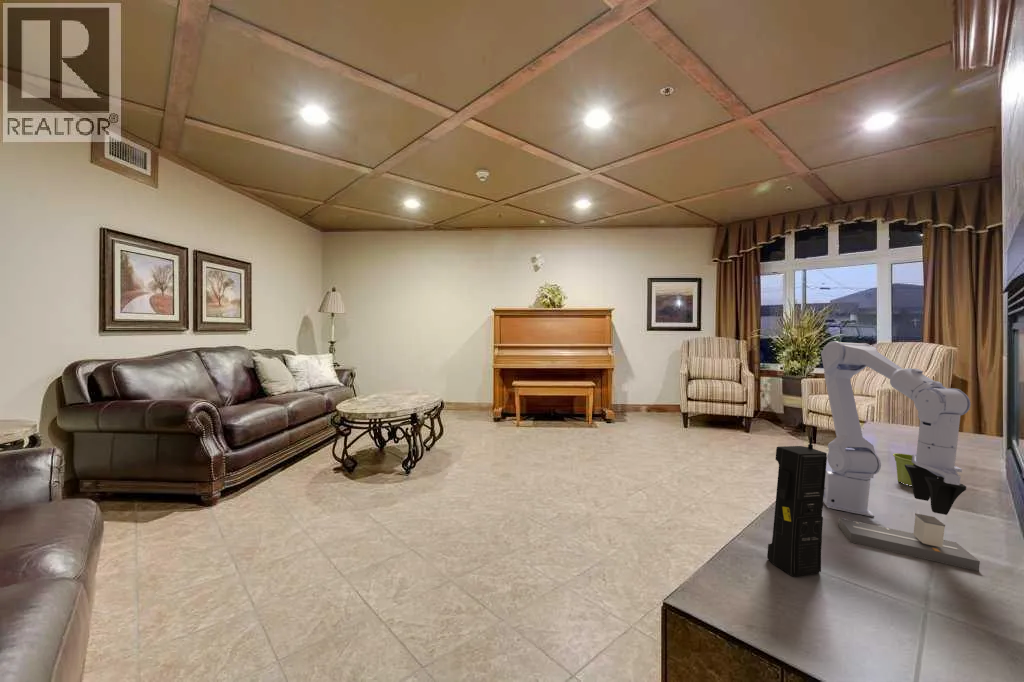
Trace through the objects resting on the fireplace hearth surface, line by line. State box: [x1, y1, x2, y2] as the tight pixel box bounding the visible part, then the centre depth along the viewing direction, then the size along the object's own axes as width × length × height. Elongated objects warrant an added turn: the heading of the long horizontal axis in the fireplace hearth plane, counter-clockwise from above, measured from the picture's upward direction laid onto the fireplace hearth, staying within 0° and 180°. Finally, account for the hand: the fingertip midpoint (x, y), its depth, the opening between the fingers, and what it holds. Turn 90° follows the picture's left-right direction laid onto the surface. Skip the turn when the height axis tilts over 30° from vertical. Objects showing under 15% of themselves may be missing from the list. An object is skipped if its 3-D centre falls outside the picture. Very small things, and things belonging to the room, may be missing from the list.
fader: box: [913, 513, 946, 547], centre depth 84 cm, size 3×4×5 cm
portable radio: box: [766, 435, 828, 577], centre depth 75 cm, size 8×6×25 cm
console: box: [838, 517, 981, 572], centre depth 86 cm, size 20×8×2 cm, turn 65°
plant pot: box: [892, 453, 915, 485], centre depth 125 cm, size 9×9×9 cm
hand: (930, 506), depth 85 cm, fingers open, 7 cm apart
